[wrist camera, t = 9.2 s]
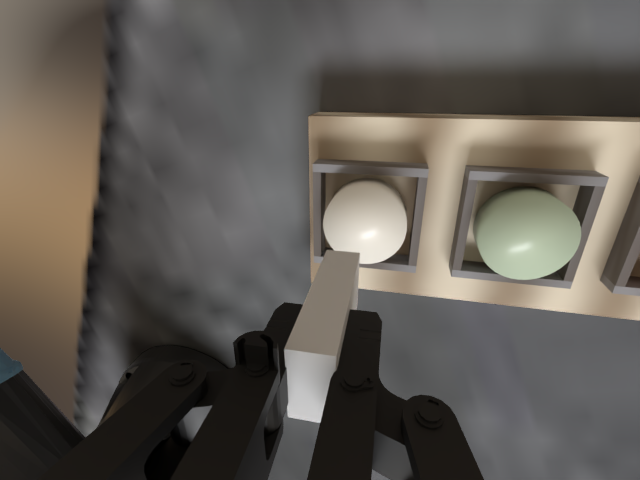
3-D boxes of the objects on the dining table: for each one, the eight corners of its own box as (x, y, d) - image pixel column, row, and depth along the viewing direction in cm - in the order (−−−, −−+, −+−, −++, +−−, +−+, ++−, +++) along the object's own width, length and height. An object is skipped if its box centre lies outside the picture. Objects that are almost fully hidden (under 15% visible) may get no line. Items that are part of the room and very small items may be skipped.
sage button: (466, 259, 23) (471, 274, 21) (481, 183, 20) (488, 193, 19) (552, 267, 22) (565, 284, 20) (577, 188, 19) (594, 199, 18)
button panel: (319, 264, 29) (306, 293, 25) (318, 111, 24) (302, 118, 20) (687, 302, 24) (743, 346, 20) (782, 119, 19) (881, 129, 15)
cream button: (329, 246, 24) (323, 259, 23) (329, 175, 22) (323, 184, 20) (402, 253, 23) (402, 267, 22) (410, 179, 21) (411, 189, 19)
